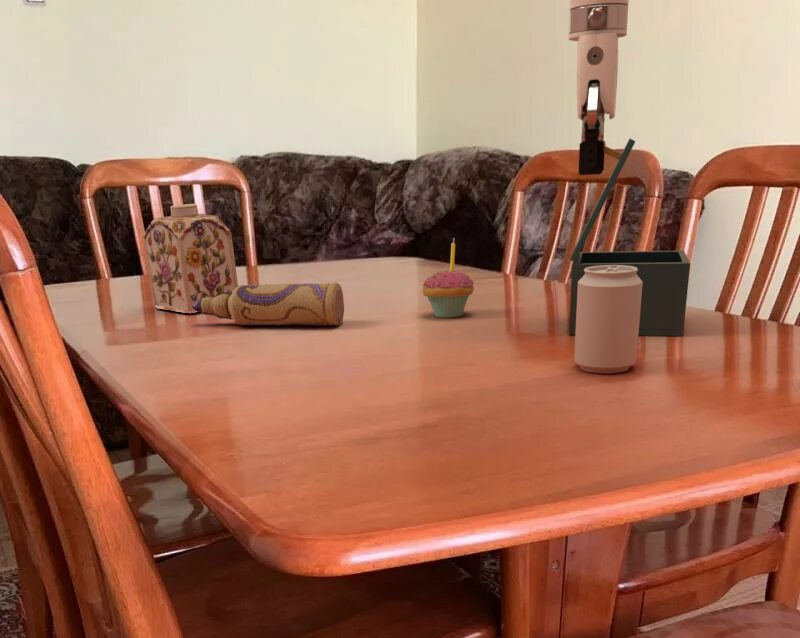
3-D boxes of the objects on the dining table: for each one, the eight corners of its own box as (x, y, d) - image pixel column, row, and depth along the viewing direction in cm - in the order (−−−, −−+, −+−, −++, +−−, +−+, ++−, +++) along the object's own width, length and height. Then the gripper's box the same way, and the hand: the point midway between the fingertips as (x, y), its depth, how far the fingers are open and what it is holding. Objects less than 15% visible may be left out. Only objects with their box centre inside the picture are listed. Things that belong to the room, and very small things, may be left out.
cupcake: (438, 309, 143) (437, 236, 138) (483, 312, 139) (483, 236, 134) (414, 318, 136) (411, 242, 131) (460, 321, 132) (459, 243, 127)
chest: (677, 317, 128) (684, 250, 124) (682, 336, 116) (690, 263, 112) (573, 316, 132) (576, 252, 128) (568, 335, 120) (571, 264, 116)
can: (563, 370, 102) (568, 269, 97) (588, 357, 107) (593, 261, 102) (622, 377, 98) (630, 272, 93) (644, 363, 103) (653, 264, 98)
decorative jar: (242, 305, 155) (229, 202, 147) (190, 316, 147) (174, 207, 140) (204, 300, 162) (190, 201, 155) (152, 309, 155) (135, 206, 147)
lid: (634, 140, 120) (601, 124, 120) (635, 141, 107) (598, 124, 108) (579, 250, 128) (548, 235, 128) (574, 262, 116) (540, 245, 116)
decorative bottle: (348, 320, 137) (346, 279, 134) (334, 330, 130) (331, 287, 127) (206, 319, 143) (200, 279, 140) (186, 329, 136) (180, 287, 134)
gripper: (627, 14, 100) (618, 175, 108) (627, 29, 116) (619, 170, 123) (564, 19, 102) (560, 177, 110) (572, 34, 117) (568, 172, 125)
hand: (591, 172), depth 116 cm, fingers closed on lid, 6 cm apart
